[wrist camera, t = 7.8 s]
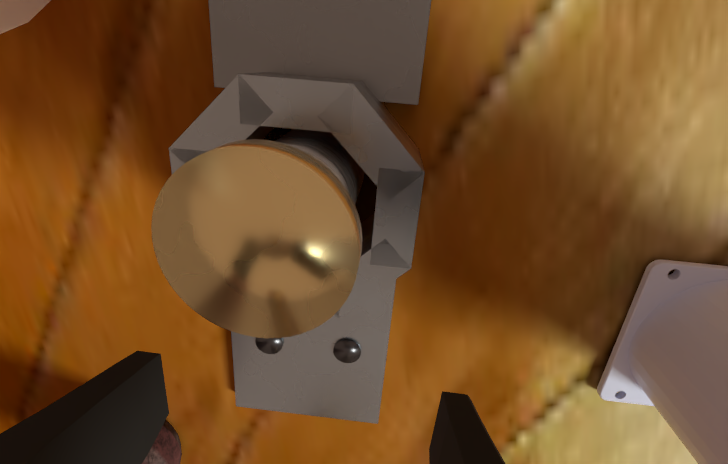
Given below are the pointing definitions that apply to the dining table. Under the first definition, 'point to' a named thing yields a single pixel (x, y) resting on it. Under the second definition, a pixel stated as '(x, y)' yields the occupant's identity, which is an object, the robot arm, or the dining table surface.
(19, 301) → the dining table surface
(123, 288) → the dining table surface
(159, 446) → the can
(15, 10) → the honey pot
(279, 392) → the bracket
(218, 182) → the hinge pin
